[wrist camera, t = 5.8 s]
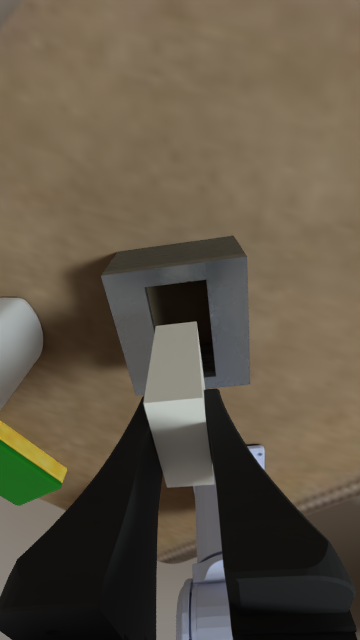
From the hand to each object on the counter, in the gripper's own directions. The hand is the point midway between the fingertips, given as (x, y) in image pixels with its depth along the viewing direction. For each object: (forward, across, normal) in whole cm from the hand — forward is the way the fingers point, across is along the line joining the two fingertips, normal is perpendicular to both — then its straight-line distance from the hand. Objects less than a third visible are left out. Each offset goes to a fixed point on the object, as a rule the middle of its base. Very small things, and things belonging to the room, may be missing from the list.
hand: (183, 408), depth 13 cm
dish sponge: (+11, +22, +14) cm, 28 cm away
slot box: (+10, 0, 0) cm, 10 cm away
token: (+3, 0, 0) cm, 3 cm away
